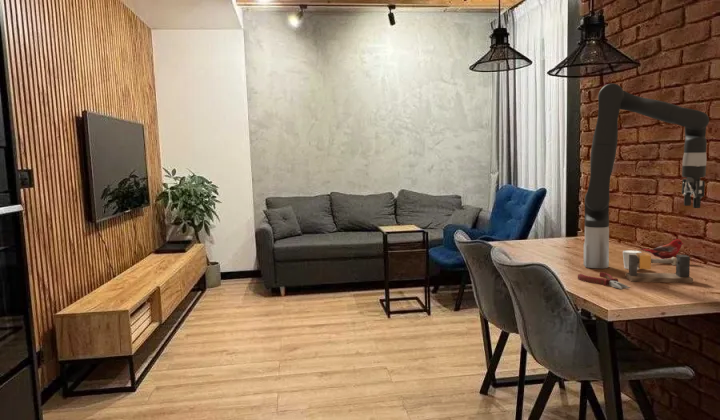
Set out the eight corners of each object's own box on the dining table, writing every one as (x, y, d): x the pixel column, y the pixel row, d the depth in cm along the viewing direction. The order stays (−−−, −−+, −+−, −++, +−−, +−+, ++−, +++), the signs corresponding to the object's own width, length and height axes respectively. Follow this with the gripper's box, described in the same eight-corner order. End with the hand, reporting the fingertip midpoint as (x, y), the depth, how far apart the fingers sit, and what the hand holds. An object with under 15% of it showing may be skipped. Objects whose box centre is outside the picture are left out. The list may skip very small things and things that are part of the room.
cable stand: (631, 281, 180) (631, 257, 179) (625, 276, 188) (625, 253, 187) (693, 282, 175) (693, 258, 174) (684, 277, 182) (685, 253, 182)
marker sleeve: (640, 268, 180) (640, 255, 180) (636, 265, 185) (636, 252, 184) (650, 268, 179) (650, 255, 179) (646, 266, 184) (646, 253, 184)
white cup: (625, 265, 205) (625, 249, 205) (643, 267, 200) (643, 250, 200) (620, 268, 201) (620, 251, 200) (638, 270, 196) (638, 253, 195)
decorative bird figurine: (685, 262, 206) (686, 239, 205) (641, 263, 208) (641, 240, 207) (681, 261, 209) (682, 238, 208) (638, 262, 211) (638, 239, 210)
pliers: (611, 293, 168) (611, 285, 168) (576, 279, 188) (576, 273, 187) (640, 290, 170) (641, 283, 170) (602, 277, 190) (602, 270, 189)
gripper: (675, 164, 194) (673, 204, 196) (690, 165, 180) (688, 208, 182) (697, 164, 192) (694, 205, 194) (714, 164, 178) (711, 208, 180)
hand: (691, 206), depth 188 cm, fingers open, 8 cm apart
